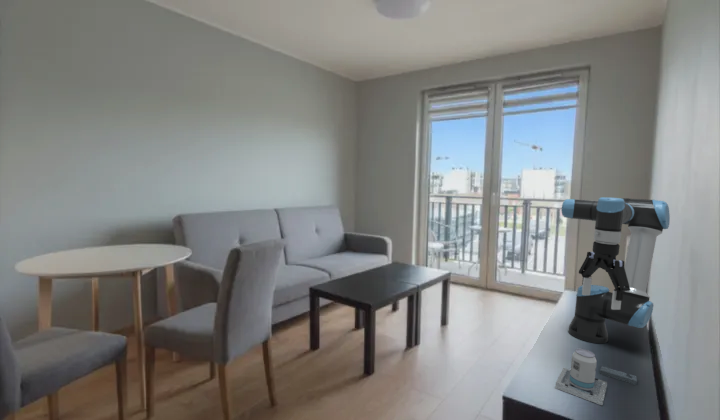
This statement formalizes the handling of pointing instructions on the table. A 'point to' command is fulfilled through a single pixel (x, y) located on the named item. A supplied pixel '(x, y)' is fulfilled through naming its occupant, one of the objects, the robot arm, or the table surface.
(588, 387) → the beverage can
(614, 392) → the table surface
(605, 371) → the bracket
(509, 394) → the table surface
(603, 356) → the table surface
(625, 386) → the table surface
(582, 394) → the rail plate
